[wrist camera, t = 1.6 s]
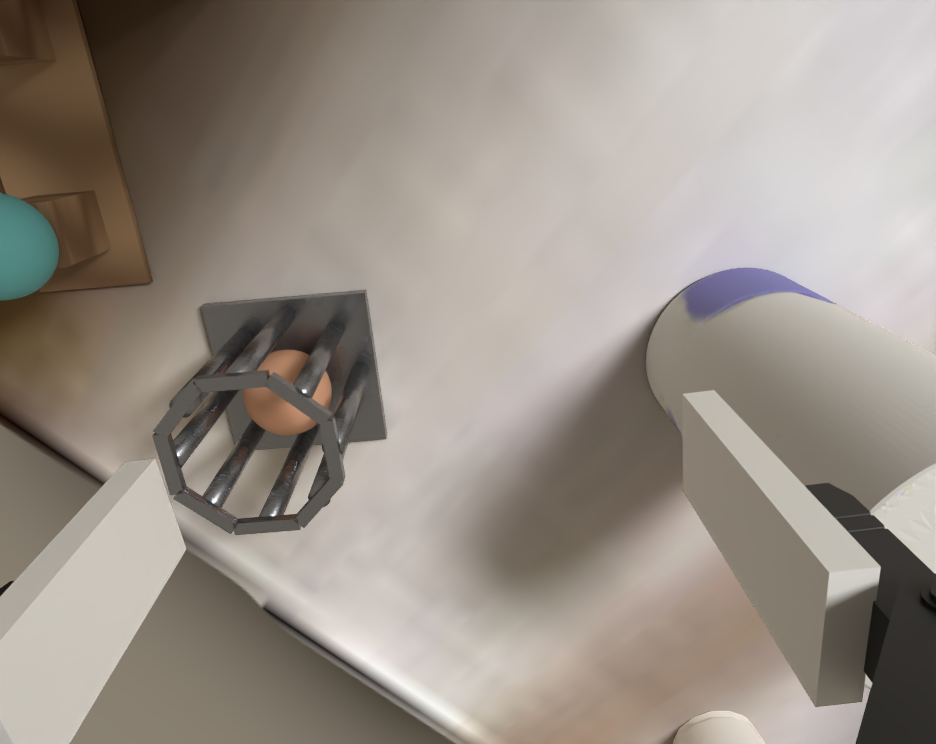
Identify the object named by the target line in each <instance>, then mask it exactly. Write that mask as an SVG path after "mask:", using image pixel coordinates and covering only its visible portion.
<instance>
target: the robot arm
mask: <svg viewBox="0 0 936 744" xmlns="http://www.w3.org/2000/svg"><path fill="white" fill-rule="evenodd" d="M683 492H684V493H685V495H686V496H687V498H688V500H689V501H690V503H691V505H692V506H693V508H694V509H695V511H696V513H697V514H698V516H699V518H700V519H701V521H702V523H703V524H704V526H705V527H706V529H707V531H708V532H709V534H710V536H711V537H712V539H713V541H714V542H715V544H716V545H717V547H718V549H719V550H720V552H721V554H722V555H723V557H724V559H725V560H726V562H727V563H728V565H729V567H730V568H731V570H732V572H733V573H734V575H735V576H736V578H737V580H738V581H739V583H740V585H741V586H742V588H743V590H744V591H745V593H746V594H747V596H748V598H749V599H750V601H751V603H752V604H753V606H754V608H755V609H756V611H757V612H758V614H759V616H760V617H761V619H762V621H763V622H764V624H765V626H766V627H767V629H768V630H769V632H770V634H771V635H772V637H773V639H774V640H775V642H776V643H777V645H778V647H779V648H780V650H781V652H782V653H783V655H784V657H785V658H786V660H787V661H788V663H789V665H790V666H791V668H792V670H793V671H794V673H795V675H796V676H797V678H798V679H799V681H800V683H801V684H802V686H803V688H804V689H805V691H806V693H807V694H808V696H809V697H810V699H811V701H812V702H813V704H814V706H815V707H820V706H829V705H838V704H847V703H856V702H862V698H863V691H864V684H865V676H866V675H867V676H868V678H869V679H870V681H871V682H872V686H871V690H870V694H869V697H868V701H867V705H866V708H865V712H864V715H863V719H862V723H861V726H860V730H859V733H858V737H857V741H856V744H936V574H935V573H934V572H933V571H932V570H931V569H930V568H928V567H927V566H926V565H925V564H924V563H923V562H922V561H921V560H920V559H919V558H918V557H917V556H916V555H915V554H914V553H913V552H912V551H911V550H910V549H909V548H908V547H907V546H905V545H904V544H903V543H902V542H901V541H900V540H899V539H898V538H897V537H896V536H895V535H894V534H893V533H892V532H891V531H890V530H889V529H885V527H884V525H883V524H882V523H881V522H880V521H879V520H878V519H877V518H876V517H875V516H874V515H871V514H870V511H869V510H868V509H867V508H866V507H865V506H864V505H863V504H862V503H860V502H859V501H858V500H857V499H856V498H855V497H854V496H853V495H851V494H849V493H847V492H845V491H843V490H841V489H839V488H837V487H836V486H834V485H832V484H830V483H821V484H813V485H805V486H804V485H803V484H802V483H801V482H800V481H799V479H798V478H797V477H796V476H795V475H794V474H793V473H792V472H791V471H790V470H789V469H788V468H787V467H786V466H785V465H784V464H783V463H782V461H781V460H780V459H779V458H778V457H777V456H776V455H775V454H774V453H773V452H772V451H771V450H770V449H769V448H768V447H767V446H766V445H765V443H764V442H763V441H762V440H761V439H760V438H759V437H758V436H757V435H756V434H755V433H754V432H753V431H752V430H751V429H750V428H749V427H748V425H747V424H746V423H745V422H744V421H743V420H742V419H741V418H740V417H739V416H738V415H737V414H736V413H735V412H734V411H733V410H732V408H731V407H730V406H729V405H728V404H727V403H726V402H725V401H724V400H723V399H722V398H721V397H720V396H719V395H718V394H717V393H716V392H715V390H710V391H702V392H694V393H686V394H683ZM185 551H186V546H185V544H184V541H183V538H182V535H181V532H180V529H179V526H178V523H177V520H176V518H175V515H174V512H173V509H172V506H171V503H170V500H169V497H168V494H167V492H166V489H165V486H164V483H163V480H162V477H161V474H160V471H159V468H158V465H157V463H156V460H155V458H154V459H146V460H138V461H129V462H124V463H123V465H122V466H121V467H120V468H119V469H118V470H117V471H116V472H115V473H114V474H113V475H112V476H111V478H110V479H109V480H108V481H107V482H106V483H105V484H104V485H103V486H102V487H101V488H100V489H99V490H98V492H97V493H96V494H95V495H94V496H93V497H92V498H91V499H90V500H89V501H88V502H87V503H86V505H85V506H84V507H83V508H82V509H81V510H80V511H79V512H78V513H77V514H76V515H75V516H74V518H73V519H72V520H71V521H70V522H69V523H68V524H67V525H66V526H65V527H64V528H63V529H62V530H61V532H60V533H59V534H58V535H57V536H56V537H55V538H54V539H53V540H52V541H51V542H50V543H49V544H48V546H47V547H46V548H45V549H44V550H43V551H42V552H41V553H40V554H39V555H38V556H37V558H35V560H34V561H33V562H32V563H31V564H30V565H29V566H28V567H27V568H26V569H25V570H24V571H23V573H22V574H21V575H20V576H19V577H18V578H17V579H16V580H15V581H10V582H9V583H7V584H6V585H4V586H3V587H2V588H0V744H69V743H70V742H71V740H72V738H73V737H74V735H75V733H76V732H77V730H78V728H79V727H80V725H81V724H82V722H83V720H84V718H85V717H86V715H87V714H88V712H89V710H90V709H91V707H92V705H93V704H94V702H95V700H96V699H97V697H98V695H99V694H100V692H101V690H102V689H103V687H104V685H105V684H106V682H107V680H108V678H109V677H110V675H111V674H112V672H113V670H114V669H115V667H116V665H117V664H118V662H119V660H120V659H121V657H122V655H123V654H124V652H125V650H126V649H127V647H128V645H129V644H130V642H131V640H132V639H133V637H134V635H135V634H136V632H137V630H138V629H139V627H140V625H141V624H142V622H143V620H144V619H145V617H146V616H147V614H148V612H149V611H150V609H151V607H152V605H153V604H154V602H155V601H156V599H157V597H158V596H159V594H160V592H161V590H162V589H163V587H164V585H165V584H166V582H167V581H168V579H169V577H170V576H171V574H172V572H173V571H174V569H175V567H176V566H177V564H178V562H179V561H180V559H181V557H182V556H183V554H184V552H185Z"/></svg>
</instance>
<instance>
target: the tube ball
mask: <svg viewBox="0 0 936 744" xmlns="http://www.w3.org/2000/svg"><path fill="white" fill-rule="evenodd" d="M308 357H309V355H308V354H306V353H304V352H301V351H297V350H279V351H275V352H272V353H269V355H268V356H267V357H266V359H265V360H264V361H263V363H262V364H261V365H260V367H259V368H258V370H257V371H263V370H269V374H270V375H271V374H272V373H273V372H275V373H277V374H278V375H280V376H281V377H282V378H284V379H285V380H287V381H288V382H290V383H291V384H292V385H293V383H294V381H295V380H296V378H297V376H298V375H299V373H300V371H301V369H302V368H303V366H304V364H305V362H306V361H307V359H308ZM331 397H332V388H331V382H330V379H329V376H328V374H327V372H326V370H325V372H324V374H323V376H322V379H321V381H320V383H319V385H318V387H317V389H316V391H315V393H314V395H313V397H312V399H314V400H315V401H316V402H318V403H319V404H321V405H322V406H324V407H325V408H326V409H328V408H329V405H330V402H331ZM243 399H244V404H245V407H246V409H247V412H248V413H249V415H250V417H251V418H252V419H253V420H254V422H256V423H257V424H258V425H259V426H260V427H262V428H263V429H265V430H267V431H269V432H271V433H274V434H279V435H295V434H299V433H303V432H305V431H307V430H309V429H311V428H313V427H314V426H315V425H316V424H318V423H317V422H315V421H314V420H312V419H311V418H310V417H308V416H307V415H305V414H304V413H302V412H301V411H300V410H298V409H297V408H295V407H294V406H292V405H291V404H289V403H288V402H287V401H285V400H284V399H282V398H281V397H279V396H278V395H277V394H275V393H274V392H272V391H271V390H269V389H268V388H266V387H261V388H249V389H243Z"/></svg>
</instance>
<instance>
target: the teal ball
mask: <svg viewBox="0 0 936 744" xmlns="http://www.w3.org/2000/svg"><path fill="white" fill-rule="evenodd" d="M58 258H59V245H58V240H57V237H56V234H55V232H54V230H53V228H52V226H51V225H50V223H49V222H48V220H47V219H46V218H45V217H44V216H43V215H42V214H41V213H40V212H39V211H38V210H37V209H35V208H34V207H33V206H31V205H30V204H28V203H27V202H25V201H23V200H21V199H19V198H16V197H13V196H11V195H7V194H3V193H0V300H12V299H17V298H21V297H24V296H27V295H29V294H31V293H33V292H35V291H37V290H38V289H40V288H41V287H42V286H43V285H44V284H45V283H46V282H47V281H48V280H49V279H50V278H51V276H52V275H53V273H54V271H55V269H56V267H57V264H58Z"/></svg>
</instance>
